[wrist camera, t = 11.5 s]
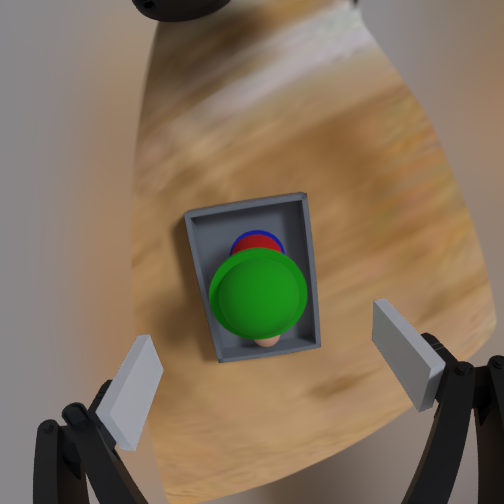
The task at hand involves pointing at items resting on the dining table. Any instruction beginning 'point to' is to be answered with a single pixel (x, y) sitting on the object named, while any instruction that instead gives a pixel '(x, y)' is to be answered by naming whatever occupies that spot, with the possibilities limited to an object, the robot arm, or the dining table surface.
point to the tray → (218, 250)
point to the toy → (257, 288)
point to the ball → (268, 341)
